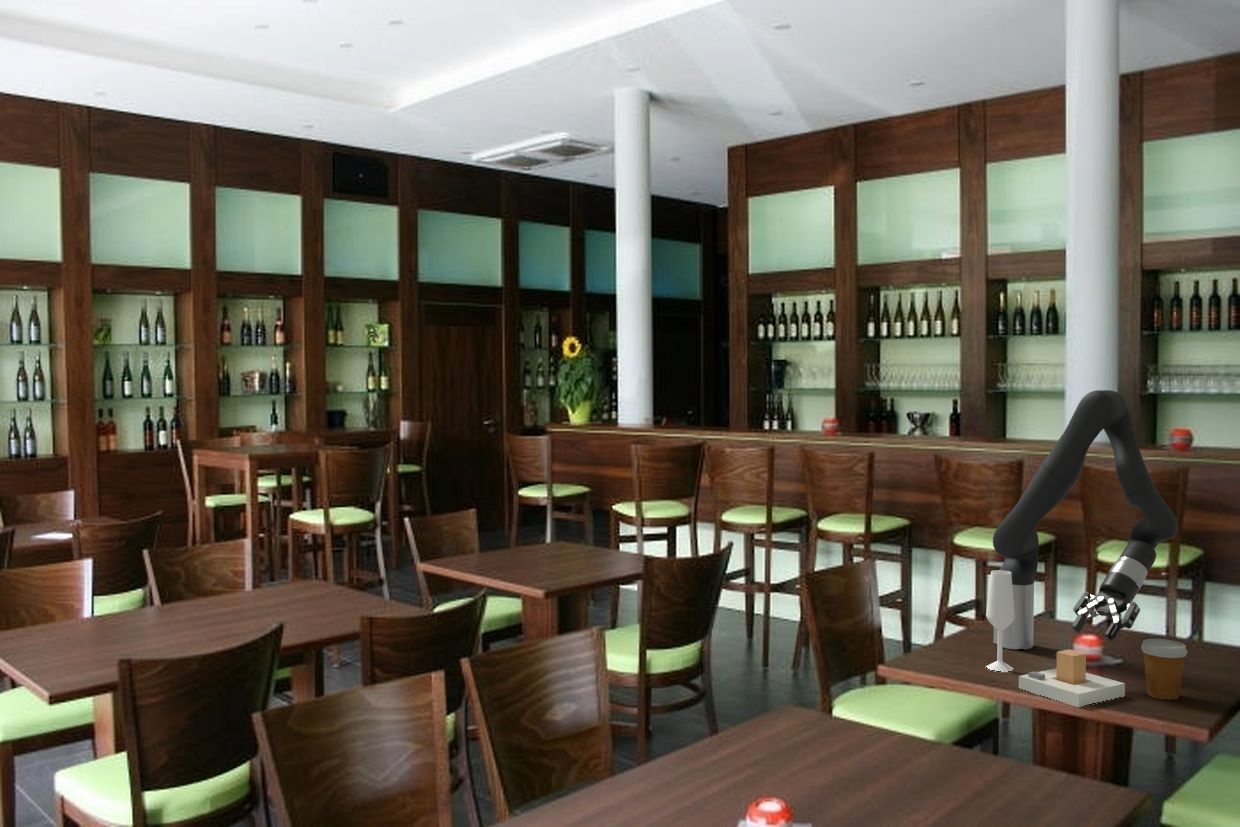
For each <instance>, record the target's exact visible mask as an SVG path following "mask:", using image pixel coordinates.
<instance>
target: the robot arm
mask: <svg viewBox="0 0 1240 827" xmlns="http://www.w3.org/2000/svg"><path fill="white" fill-rule="evenodd" d="M1103 430H1104V432H1105V434H1106V436H1107V438H1108V439H1109V442H1110V444H1111V447H1112V451H1113V457H1114V466H1115V472H1116V476H1117V480H1118V482H1119V484H1120V487H1121V489H1122V492H1123V494H1124V497H1125V499H1126V501H1127V503H1128V505H1129V506H1130V507H1131V508H1139V510H1140V511H1141V512H1142V514H1143V515H1144V516H1143V517H1141V518H1139V519H1138V520H1137V521H1136V522H1135V523H1134V525H1133V526H1132V529H1131V531H1130V534H1129V537H1128V539H1127V545H1126V546H1125V548H1124V549H1123V551H1122V552H1121V554H1120V555H1119V557H1118V558H1117V560H1116V561H1115V562H1114V564H1113V565H1112V566H1111V567H1110V570H1109V571H1108V573H1107V574H1106V576H1105V578H1103V581H1102V583H1101V584H1100V586H1099V590H1098V592H1097V593H1096V594H1095V595H1093V594H1091V593H1089V591H1084V592H1083V593H1082V595H1081V596H1080V598H1079V599H1078V600H1077V602H1076V603H1075V605H1074V606H1073V608H1072V611H1073V612H1074V614H1075V615H1076V618H1075V620H1073V622H1072V625H1071V626H1072V629H1073V631H1074V633H1080V632H1081V631H1082V629H1083V628H1084V626H1085V624H1086V623H1087V620H1089V619H1091V618H1096V617H1098V616H1102V617H1107V618H1110V619H1112V620H1113V622H1111V623H1110V625H1109V627H1108V628H1107V630H1106V631H1105V634H1104V638H1105V639H1106V640H1107V641H1110V642H1112V641H1113V640H1114V639H1116V637H1117V635H1118V634H1119V633H1120V631H1121V630H1123V629H1125V628H1126V629H1129V630H1130V629H1131V628H1133V626H1134V623H1135V622H1136V620H1137V617H1138V615H1139V614H1140V611H1141V608H1140V606H1139V605H1138V604H1137V603H1136V601H1134V599H1135V597H1136V596H1137V594H1138V592H1139V591H1140V589H1141V587H1142V586H1143V584H1144V582H1146V581H1145V580H1146V578H1147V575H1148V573H1149V572H1150V571H1151V568H1152V567H1153V565H1154V563H1155V561H1156V559H1157V552H1156V547H1157V546H1158V545H1159V544H1160V543H1163V542H1166V541H1169V540H1172V539H1173V538H1174V537H1176V535H1177V533H1178V531H1179V530H1178V528H1179V527H1178V521H1177V520H1178V519H1177V517H1176V516H1175V514H1174V512H1173V511H1172V510H1171V508H1170V507H1169V506H1168V504H1167V503H1166V502H1165V500H1164V499H1163V498H1162V497H1161V495H1160V494H1159V493H1158V491H1157V488H1156V486H1155V483H1154V482H1153V479H1152V477H1151V474H1150V472H1149V470H1148V467H1147V465H1146V464H1145V463H1146V462H1145V461H1144V458H1143V456H1142V453H1141V450H1140V447H1139V443H1138V441H1137V438H1136V434H1135V430H1134V427H1133V422H1132V417H1131V415H1130V410H1129V406H1128V403H1127V401H1126V399H1125V398H1124V396H1123V395H1122V394H1121V393H1119V392H1117V391H1114V390H1109V389H1105V390H1103V389H1102V390H1101V389H1100V390H1099V389H1098V390H1093V391H1089V392H1088V393H1086V394H1085V395H1084V396H1083V397H1082V398H1081V399H1080V400H1079V403H1078V404H1077V407H1076V409H1075V411H1074V412H1073V415H1072V416H1071V418H1070V420H1069V423H1068V424H1067V426H1066V428H1065V429H1064V431H1063V433H1062V435H1061V436H1060V437H1059V438H1058V440H1057V441H1056V443H1055V444H1054V446H1053V447H1052V449H1051V450H1050V451H1049V453H1048V455H1047V456H1046V458H1045V459H1044V460H1043V462H1042V463H1041V465H1040V467H1039V468H1038V469H1037V470H1036V472H1035V475H1034V476H1033V477H1032V479H1031V481H1030V482H1029V484H1028V485H1027V487H1026V488H1025V490H1024V492H1023V493H1022V495H1021V497H1020V498H1019V500H1018V501H1017V503H1016V504H1015V506H1014V507H1013V508H1012V509H1011V511H1010V512H1009V513H1008V514H1007V516H1006V517H1005V518H1004V519H1003V521H1001V523H1000V524H999V526H997V528H996V529H995V531H994V533H993V536H992V546H993V548H994V551H995V552H996V554H998V555H999V556H1000V557H1003V558H1004V560H1003V561H1004V562H1003V563H1002V565H1001V567H1000V568H999V569H998V570H1002V571H1009V572H1011V575H1012V587H1013V599H1014V611H1015V619H1014V621H1013V622H1012V623H1011V624H1010V625H1009V626H1008V627H1007V628H1006V629H1004V630H1003V648H1004V649H1008V650H1009V649H1010V650H1018V649H1024V650H1031V649H1033V648H1034V614H1035V607H1034V606H1035V576H1036V574H1037V571H1038V567H1039V566H1038V565H1039V550H1040V548H1039V547H1040V545H1039V544H1040V542H1039V541H1040V539H1039V535H1038V531H1037V529H1036V527H1037V525H1038V524H1039V523H1040V521H1041V520H1042V519H1044V517H1046V515H1048V514H1049V513H1050V512H1051V511H1052V510H1053V509H1055V507H1057V506H1058V505H1059V504H1060V503H1061V502H1062V501H1063V500H1064V499H1065V497H1066V496H1067V495H1068V494H1069V493H1070V491H1071V490H1072V488H1073V487H1074V486H1075V484H1076V483H1077V480H1079V478H1080V476H1081V474H1082V471H1083V468H1084V464H1085V461H1086V460H1085V459H1086V457H1087V453H1088V450H1089V449H1090V446H1091V445H1092V444H1093V442H1094V441H1095V439H1096V438H1097V437H1098V435H1099V434H1100V433H1101V432H1102V431H1103ZM1093 608H1094V609H1095V610H1093ZM1125 611H1126V612H1125ZM1123 612H1125V614H1124V615H1123V616H1122V613H1123ZM992 641H993V644H995V645H996V646H998V629H996V628H995V627H994V626H993V640H992ZM1032 647H1033V648H1032ZM1030 648H1031V649H1030Z"/></svg>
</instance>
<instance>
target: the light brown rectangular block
mask: <svg viewBox="0 0 1240 827" xmlns="http://www.w3.org/2000/svg"><path fill="white" fill-rule="evenodd" d="M1086 662H1087V653H1086V652H1085V653H1084V652H1082V651H1078V650H1073V649H1070V648H1069V649H1065V650H1059V651H1056V668H1057V673H1056V680H1058V681H1061V682H1065V683H1068V684H1072V685H1078V684H1082V683H1086V673H1087V663H1086Z"/></svg>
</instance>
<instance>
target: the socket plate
mask: <svg viewBox="0 0 1240 827" xmlns="http://www.w3.org/2000/svg"><path fill="white" fill-rule="evenodd" d="M1056 673H1057V667H1056V668H1055V667H1054V668H1051V669H1046V670H1042V671H1034V670H1032V671H1030V672H1028V673H1026V674H1022V675H1018V689H1019V688H1020V689H1019V690H1021V689H1023V690H1022V691H1024V690H1026V691H1025V692H1027V691H1029V692H1028V693H1030V692H1031V694H1033V693H1034V694H1033V695H1037V696H1040V695H1041V696H1040V697H1043V696H1045V697H1044V698H1046V697H1048V698H1047V699H1049V698H1051V699H1050V700H1053V699H1054V700H1053V701H1056V700H1057V701H1056V702H1059V701H1060V703H1062V702H1063V704H1066V705H1068V706H1069V705H1070V706H1073V707H1076V708H1083V707H1085V706H1084V705H1087V704H1092V703H1096V704H1098V703H1097V702H1100V703H1103V702H1102V701H1104V702H1107V701H1106V700H1108V701H1112V700H1115V698H1117V699H1120V698H1119V697H1121V698H1125V697H1124V696H1125V695H1126V683H1124V682H1122V681H1117V680H1114V679H1111V678H1108V677H1102V676H1100V675H1095V674H1092V673H1090V672H1086V683H1082V684H1078V685H1072V684H1068V683H1065V682H1061V681H1058V680H1056ZM1111 699H1112V700H1111ZM1092 705H1093V704H1092ZM1082 706H1083V707H1082ZM1087 706H1088V705H1087Z"/></svg>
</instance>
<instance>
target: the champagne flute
mask: <svg viewBox="0 0 1240 827" xmlns="http://www.w3.org/2000/svg"><path fill="white" fill-rule="evenodd" d="M985 616H986V618H987V621H988V622H989V623H990V625H992V626H993V628H994V627H995V628H996V629H998V645H997V655H996V656H997V658H996V659H997V660H996V661H994V662H992V663H990V664H988V665H986V666H985V668H986V667H987V668H988V669H990V670H989V671H991V670H995V671H994V672H996V671H1001V672H1000V673H1009V672H1008V671H1012V670H1013V669H1014V667H1012V666H1011V665H1009V664H1007V663H1006V662H1005V661H1003V630H1004V629H1006V628H1007V627H1008V626H1009V625H1010V624H1011V623H1012V622H1013V621H1014V619H1015V611H1014V599H1013V587H1012V575H1011V572H1009V571H1002V570H999V569H998V570H996V569H995V570H991V571H990V577H989V587H988V597H987V604H986V613H985ZM988 669H987V670H988ZM1012 672H1013V671H1012Z"/></svg>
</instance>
